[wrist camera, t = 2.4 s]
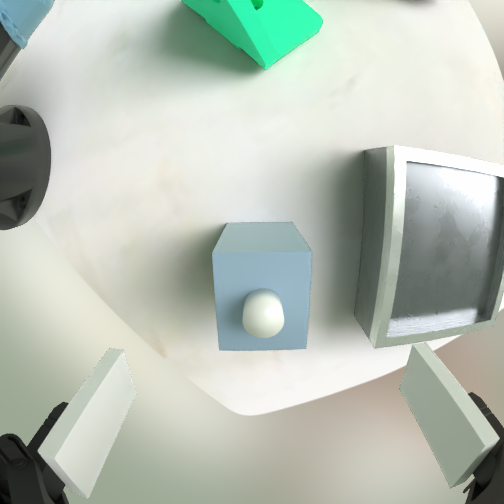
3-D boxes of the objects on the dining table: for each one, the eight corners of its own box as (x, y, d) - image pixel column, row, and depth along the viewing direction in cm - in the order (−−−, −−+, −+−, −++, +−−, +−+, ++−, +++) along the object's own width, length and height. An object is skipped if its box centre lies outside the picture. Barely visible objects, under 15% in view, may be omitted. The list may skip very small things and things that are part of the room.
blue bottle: (230, 292, 29) (215, 367, 18) (227, 222, 27) (206, 263, 16) (290, 291, 29) (310, 366, 17) (292, 221, 27) (318, 261, 16)
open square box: (354, 315, 30) (374, 348, 23) (364, 149, 25) (394, 145, 19) (464, 303, 29) (493, 326, 23) (481, 166, 25) (519, 170, 18)
